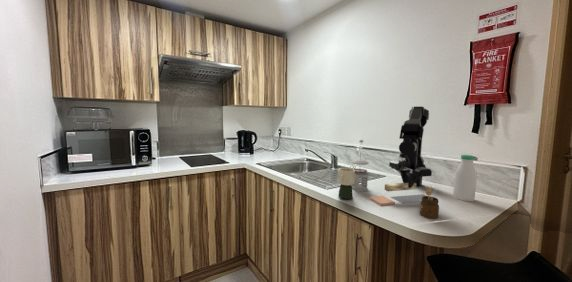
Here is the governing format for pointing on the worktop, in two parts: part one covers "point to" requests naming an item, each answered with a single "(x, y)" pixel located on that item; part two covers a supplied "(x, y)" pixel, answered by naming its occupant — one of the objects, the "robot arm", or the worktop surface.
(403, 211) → the worktop surface
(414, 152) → the robot arm
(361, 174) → the french press
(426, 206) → the utensil holder
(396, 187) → the stick
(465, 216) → the worktop surface
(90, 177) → the worktop surface
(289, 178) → the worktop surface
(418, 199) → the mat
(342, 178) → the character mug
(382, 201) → the tile
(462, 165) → the milk bottle
